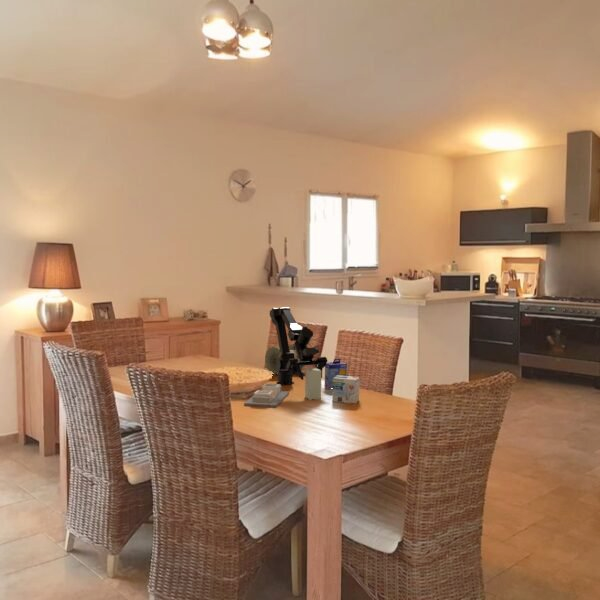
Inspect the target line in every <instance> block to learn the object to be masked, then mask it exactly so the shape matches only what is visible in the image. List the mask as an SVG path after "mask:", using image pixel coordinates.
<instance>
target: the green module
mask: <svg viewBox="0 0 600 600" xmlns="http://www.w3.org/2000/svg"><path fill="white" fill-rule="evenodd" d="M304 378H305V379H304V380H305V381H304V382H305V383H304V385H305V386H304V388H305V389H304V390H305V391H304V393H305V394H304V397H306V398H305V399H307V398H308V399H307V400H308V401H313V400H312V399H315V400H321V399H322V378H321V370H319V369H317V368H316V367H315V368H305V377H304Z"/></svg>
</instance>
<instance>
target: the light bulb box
mask: <svg viewBox="0 0 600 600" xmlns="http://www.w3.org/2000/svg"><path fill="white" fill-rule="evenodd" d="M360 380H361V379H360V377H359V376H350V375H349V376H348V375H346V376H341V375H337V376H336V377H334V378H333V389H332V396H331V397H332V398H331V399H332V402H337V403H343V402H344V403H343V404H351V403H355V404H357V403H358V402H360ZM357 401H358V402H357Z"/></svg>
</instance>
